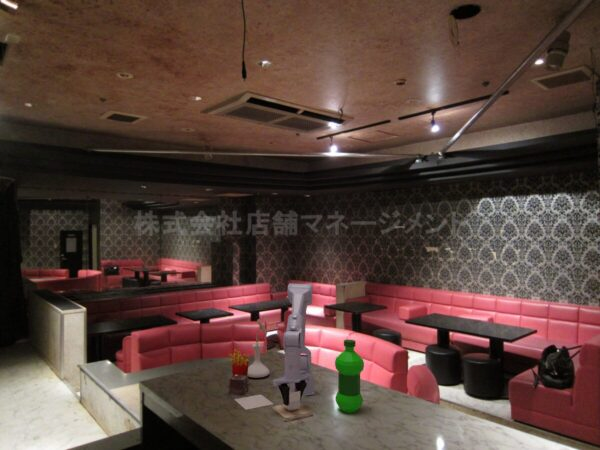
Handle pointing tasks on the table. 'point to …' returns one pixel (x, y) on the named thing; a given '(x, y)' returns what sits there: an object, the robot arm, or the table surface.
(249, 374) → the flower in vase
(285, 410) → the stand
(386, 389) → the table surface
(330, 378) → the table surface
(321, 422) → the table surface
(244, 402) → the stand
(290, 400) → the block
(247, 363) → the french fries
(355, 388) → the plastic bottle
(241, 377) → the box
